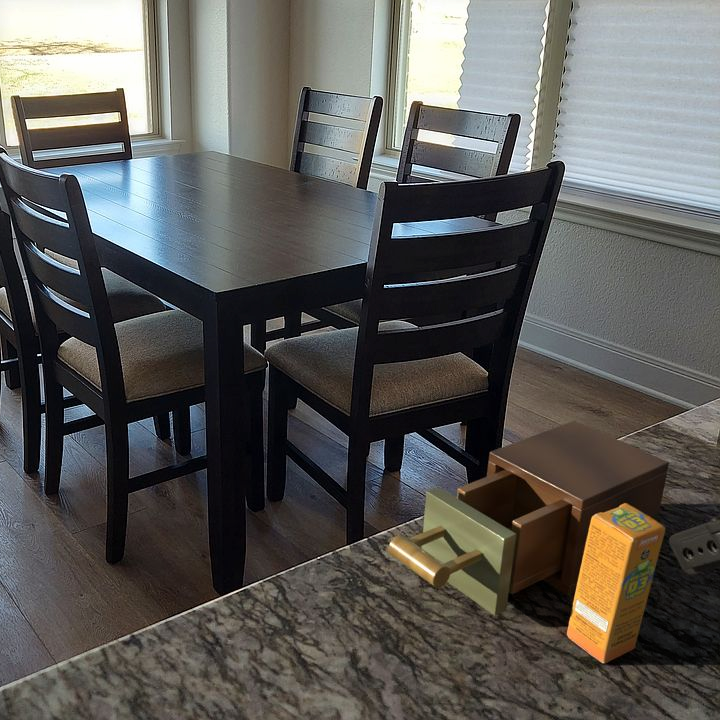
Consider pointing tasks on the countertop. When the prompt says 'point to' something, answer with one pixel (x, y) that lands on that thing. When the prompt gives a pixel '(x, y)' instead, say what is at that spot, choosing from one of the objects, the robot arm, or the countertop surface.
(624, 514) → the supplement box
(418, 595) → the countertop surface
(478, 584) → the drawer
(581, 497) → the cabinet
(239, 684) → the countertop surface
